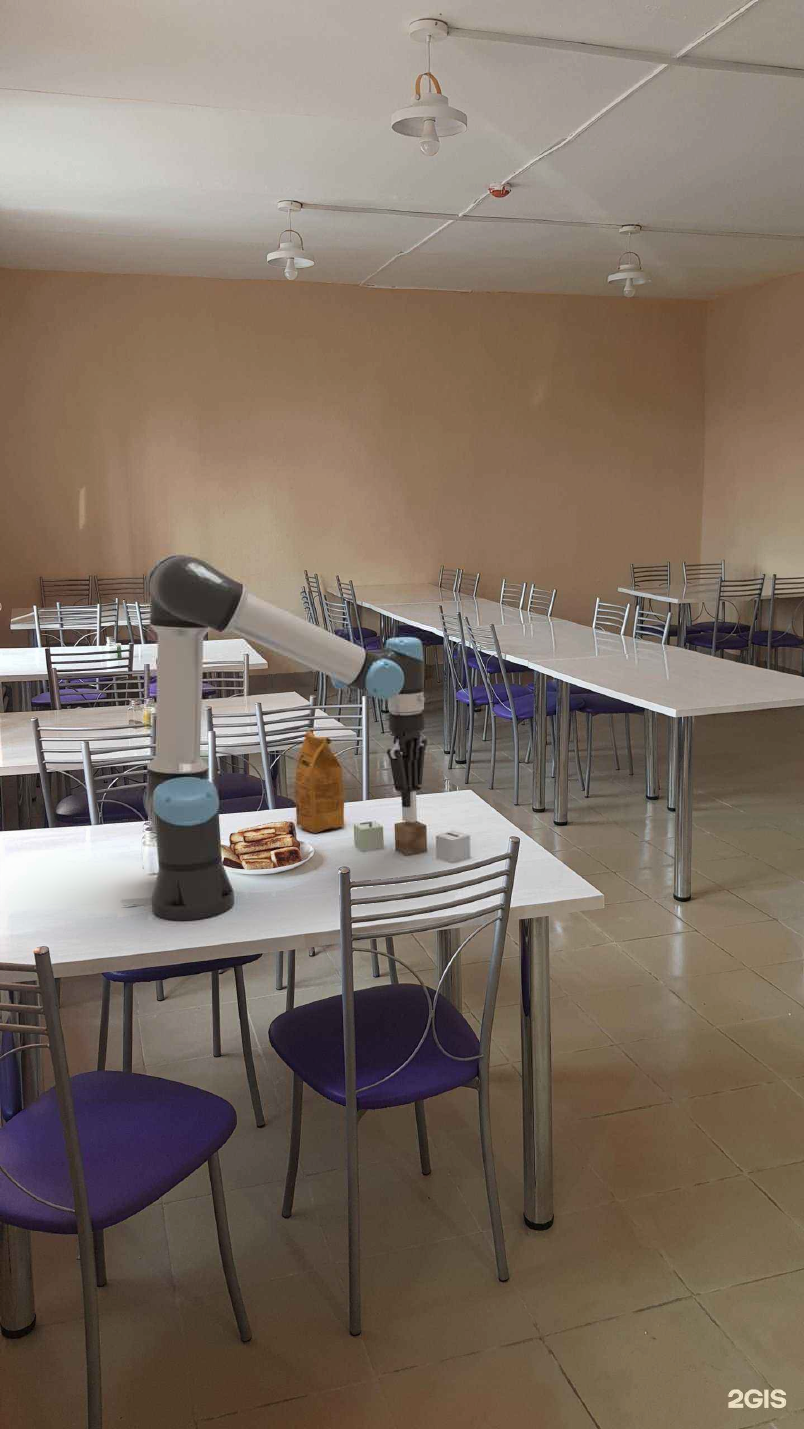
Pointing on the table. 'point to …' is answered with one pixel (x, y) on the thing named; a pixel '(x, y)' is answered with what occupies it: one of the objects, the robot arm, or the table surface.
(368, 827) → the sage numbered block
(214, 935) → the table surface
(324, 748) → the coffee package
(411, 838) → the plain walnut block
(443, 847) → the grey numbered block
